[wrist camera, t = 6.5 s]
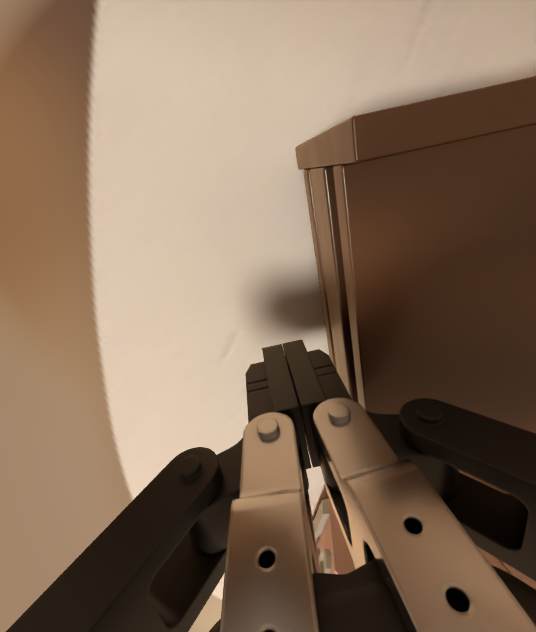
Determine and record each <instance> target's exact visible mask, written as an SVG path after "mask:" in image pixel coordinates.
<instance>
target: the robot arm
mask: <svg viewBox="0 0 536 632" xmlns="http://www.w3.org/2000/svg"><path fill="white" fill-rule="evenodd" d="M283 349H284V351H283ZM262 350H263V356H264V362H260V363H256V364H251V365H250V367H249V369H248V371H247V372H246V388H247V404H248V420H249V423H248V424H247V426H246V427H245V430H244V433H243V438H242V439H241V440H240V441H239V442H238V443H237V444H236V445H234V446H233V447H231V448H229V449H228V450H226V451H224V452H222V453H220V454H218V455H216V454H215V453H214V452H213V451H212V450H210V449H208V448H204V447H197V448H192V449H189V450H186V451H184V452H182V453H181V454H179V455H178V456H176V457H175V458H174V459H173V460H172V461H171V462H170V463H169V464H168V465H167V466H166V467H165V468H164V469H163V470H162V471H161V472H160V473H159V474H158V475H157V476H156V477H155V478H154V479H153V480H152V481H151V482H150V483H149V484H148V486H147V487H146V488H145V489H144V490H143V491H142V492H141V493H140V494H139V495H138V496H137V497H136V498H135V499H134V500H133V501H132V502H131V503H130V504H129V505H128V506H127V507H126V508H125V509H124V510H123V511H122V512H121V513H120V514H119V515H118V516H117V518H116V519H115V520H114V521H113V522H112V523H111V524H110V525H109V526H108V527H107V528H106V529H105V530H104V531H103V532H102V533H101V534H100V535H99V536H98V537H97V538H96V539H95V540H94V541H93V542H92V543H91V544H90V546H88V547H87V548H86V549H85V551H84V552H83V553H82V554H81V555H80V556H79V557H78V558H77V559H76V560H75V561H74V562H73V563H72V564H71V565H70V566H69V567H68V568H67V569H66V570H65V571H64V572H63V573H62V574H61V575H60V576H59V577H58V578H57V579H56V581H54V583H53V584H52V585H51V586H50V587H49V588H48V589H47V590H46V591H45V592H44V593H43V594H42V595H41V596H40V597H39V598H38V599H37V600H36V601H35V602H34V603H33V604H32V605H31V606H30V607H29V608H28V609H27V610H26V611H25V612H24V613H23V615H22V616H21V617H20V618H19V619H18V620H17V621H16V622H15V623H14V624H13V625H12V626H11V627H10V628H9V629H8V630H7V631H6V632H188V631H189V630H190V628H191V626H192V625H193V623H194V621H195V620H196V618H197V617H198V615H199V613H200V612H201V610H202V609H203V607H204V605H205V604H206V602H207V600H208V599H209V597H210V596H211V594H212V592H213V591H214V589H215V587H216V586H217V584H218V583H219V581H220V579H221V578H222V576H223V574H224V573H225V577H224V588H223V599H222V611H221V619H220V620H219V621H218V622H217V623H216V624H215V625H214V626H213V627H212V629H211V630H210V631H209V632H536V589H534V588H532V587H531V586H529V585H528V584H526V583H525V582H523V581H521V580H520V579H518V578H517V577H515V576H513V575H511V574H509V573H507V572H505V571H503V570H502V569H500V568H497V567H495V566H493V565H490V563H489V562H488V561H487V559H486V558H485V556H484V555H483V554H482V552H481V551H480V550H479V548H481V549H482V550H484V551H486V552H487V553H489V554H491V555H492V556H494V557H496V558H497V559H499V560H501V561H502V562H504V563H506V564H507V565H509V566H511V567H512V568H514V569H516V570H517V571H519V572H521V573H522V574H524V575H526V576H527V577H529V578H531V579H532V580H534V581H536V434H535V433H533V432H530V431H527V430H524V429H521V428H518V427H515V426H512V425H509V424H506V423H503V422H501V421H498V420H495V419H492V418H489V417H486V416H483V415H480V414H477V413H474V412H471V411H469V410H466V409H463V408H460V407H457V406H454V405H451V404H448V403H445V402H442V401H439V400H436V399H429V398H420V399H414V400H411V401H409V402H407V403H405V404H404V405H403V406H402V407H401V409H400V413H399V414H377V413H372V412H368V411H366V410H365V409H364V408H363V407H362V405H360V404H359V403H358V402H356V401H354V400H352V398H351V397H350V395H349V393H348V391H347V389H346V387H345V385H344V383H343V381H342V380H341V378H340V376H339V374H338V373H337V370H336V368H335V366H334V365H333V363H332V361H331V359H330V357H329V355H327V354H326V353H324V352H323V351H321V350H314V351H310V352H307V350H306V348H305V345H304V343H303V341H302V340H297V341H293V342H288V343H284V344H283V348H282V344H279V345H275V346H270V347H266V348H262ZM284 354H285V355H284ZM307 447H308V449H307ZM308 451H309V454H308ZM309 455H310V458H311V462H312V466H313V467H317V466H321V469H322V473H323V476H324V481H325V487H326V491H327V494H328V497H329V499H330V502H331V504H332V507H333V510H334V512H335V515H336V517H337V520H338V522H339V525H340V528H341V530H342V533H343V535H344V538H345V541H346V543H347V546H348V548H349V551H350V554H351V557H352V559H353V563H354V566H355V570H354V571H352V572H350V573H348V574H328V573H321V572H320V566H319V560H318V553H317V546H316V540H315V533H314V526H313V520H312V513H311V506H310V500H309V494H308V488H309V483H308V478H307V473H306V469H308V468H311V464H310V459H309ZM459 470H461V471H463V472H465V473H467V474H469V475H471V476H473V477H476V478H478V479H480V480H482V481H484V482H486V483H488V484H491V485H493V486H495V487H497V488H499V489H501V490H503V491H505V492H508V493H510V494H511V495H513V496H515V497H516V498H517V499H519V500H520V501H519V500H517V499H515V498H513V497H511V496H508V495H506V494H504V493H502V492H500V491H498V490H496V489H494V488H492V487H489V486H487V485H485V484H483V483H481V482H479V481H477V480H475V479H472V478H470V477H468V476H466V475H464V474H462V473H460V472H459ZM478 547H479V548H478Z"/></svg>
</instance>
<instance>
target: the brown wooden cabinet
mask: <svg viewBox="0 0 536 632" xmlns="http://www.w3.org/2000/svg"><path fill="white" fill-rule="evenodd" d="M295 149H296V156H297V163H298V169H299V170H301V169H305V170H304V179H305V186H306V193H307V200H308V207H309V214H310V221H311V228H312V235H313V242H314V249H315V256H316V263H317V270H318V277H319V284H320V291H321V298H322V305H323V312H324V319H325V326H326V333H327V340H328V347H329V354H330V359H331V361H332V363H333V365H334V366H335V368H336V370H337V373H338V374H339V376H340V378H341V380H342V381H343V383H344V385H345V387H346V389H347V391H348V393H349V395H350V397H351V398H352V400H354V401H356V402H358V403H359V404H360V405H362V407H363V408H364V409H365V410H366V411H368V412H372V413H377V414H399V413H400V409H401V407H402V406H403V405H404V404H405V403H407V402H409V401H411V400H414V399H420V398H429V399H436V400H439V401H442V402H445V403H448V404H451V405H454V406H457V407H460V408H463V409H466V410H469V411H471V412H474V413H477V414H480V415H483V416H486V417H489V418H492V419H495V420H498V421H501V422H503V423H506V424H509V425H512V426H515V427H518V428H521V429H524V430H527V431H530V432H533V433H535V434H536V76H535V77H530V78H526V79H521V80H517V81H512V82H507V83H503V84H498V85H494V86H489V87H485V88H480V89H476V90H471V91H467V92H462V93H457V94H453V95H448V96H444V97H439V98H435V99H430V100H426V101H421V102H417V103H412V104H408V105H403V106H398V107H394V108H389V109H385V110H380V111H376V112H371V113H367V114H362V115H358V116H353V117H352V118H350V119H348V120H346V121H344V122H342V123H340V124H339V125H337V126H335V127H333V128H331V129H329V130H327V131H325V132H324V133H322V134H320V135H318V136H316V137H314V138H312V139H311V140H309V141H307V142H305V143H303V144H301V145H299V146H298V147H296V148H295ZM459 472H460V473H462V474H464V475H466V476H468V477H470V478H472V479H475V480H477V481H479V482H481V483H483V484H485V485H487V486H489V487H492V488H494V489H496V490H498V491H500V492H502V493H504V494H506V495H508V496H511V497H513V498H515V499H517V498H516V497H515V496H513V495H511V494H510V493H508V492H505V491H503V490H501V489H499V488H497V487H495V486H493V485H491V484H488V483H486V482H484V481H482V480H480V479H478V478H476V477H473V476H471V475H469V474H467V473H465V472H463V471H461V470H459ZM517 500H519V499H517ZM519 501H520V500H519Z"/></svg>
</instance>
